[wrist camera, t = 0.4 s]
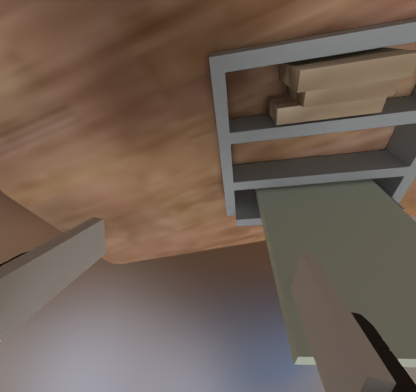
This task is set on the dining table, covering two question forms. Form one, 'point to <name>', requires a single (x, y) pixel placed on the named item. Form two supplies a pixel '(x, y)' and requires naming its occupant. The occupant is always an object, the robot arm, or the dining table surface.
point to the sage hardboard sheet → (345, 256)
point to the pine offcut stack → (340, 84)
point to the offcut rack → (313, 123)
